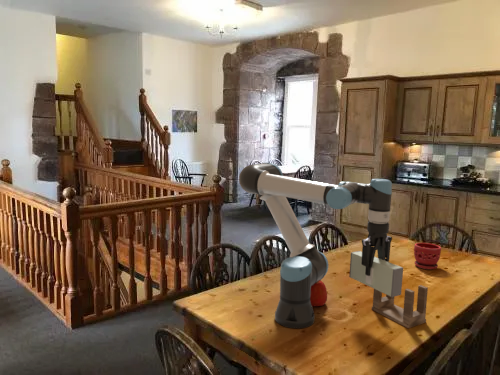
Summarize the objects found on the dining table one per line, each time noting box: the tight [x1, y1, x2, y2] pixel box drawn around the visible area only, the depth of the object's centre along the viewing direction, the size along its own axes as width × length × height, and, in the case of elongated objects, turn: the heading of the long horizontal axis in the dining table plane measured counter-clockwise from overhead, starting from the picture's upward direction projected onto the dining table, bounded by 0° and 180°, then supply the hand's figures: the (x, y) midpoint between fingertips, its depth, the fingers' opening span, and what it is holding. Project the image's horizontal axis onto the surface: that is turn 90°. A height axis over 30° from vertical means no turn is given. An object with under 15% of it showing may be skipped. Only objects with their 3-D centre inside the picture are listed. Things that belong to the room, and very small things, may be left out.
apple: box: [310, 279, 328, 307], centre depth 171 cm, size 11×11×11 cm
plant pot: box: [413, 242, 442, 270], centre depth 219 cm, size 13×13×12 cm
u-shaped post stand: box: [371, 284, 429, 329], centre depth 160 cm, size 10×18×14 cm, turn 30°
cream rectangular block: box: [349, 250, 404, 298], centre depth 151 cm, size 4×21×10 cm, turn 30°
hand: (373, 282), depth 152 cm, fingers closed on cream rectangular block, 4 cm apart
